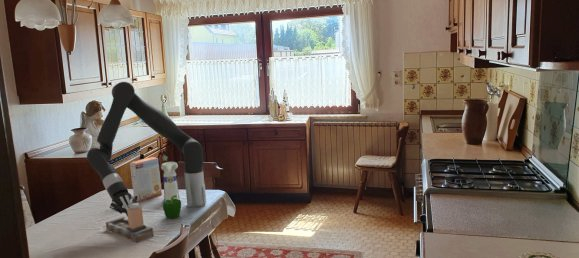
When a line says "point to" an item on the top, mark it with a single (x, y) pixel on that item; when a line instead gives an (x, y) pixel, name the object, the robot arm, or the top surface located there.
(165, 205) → the bell pepper
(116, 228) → the fader track
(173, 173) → the white bottle
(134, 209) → the slider tab
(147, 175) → the cracker box
